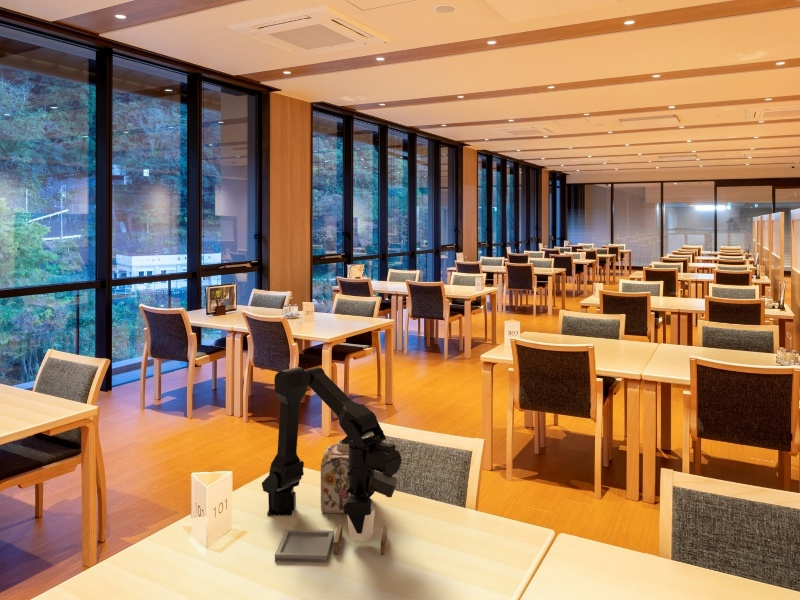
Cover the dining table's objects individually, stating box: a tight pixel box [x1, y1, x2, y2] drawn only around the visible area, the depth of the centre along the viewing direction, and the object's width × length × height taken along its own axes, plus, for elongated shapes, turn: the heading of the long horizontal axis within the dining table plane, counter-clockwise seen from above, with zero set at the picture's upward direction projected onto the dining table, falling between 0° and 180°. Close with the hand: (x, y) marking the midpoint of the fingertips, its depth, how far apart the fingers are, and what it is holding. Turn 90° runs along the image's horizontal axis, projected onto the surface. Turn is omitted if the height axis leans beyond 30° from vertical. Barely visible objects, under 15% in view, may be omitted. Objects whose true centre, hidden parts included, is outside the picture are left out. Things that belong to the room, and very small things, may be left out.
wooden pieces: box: [332, 523, 388, 556], centre depth 156 cm, size 12×9×3 cm
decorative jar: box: [320, 439, 351, 515], centre depth 177 cm, size 12×12×18 cm
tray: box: [274, 529, 335, 563], centre depth 154 cm, size 12×12×2 cm
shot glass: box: [346, 503, 376, 541], centre depth 155 cm, size 7×7×7 cm
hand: (360, 526), depth 155 cm, fingers closed on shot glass, 6 cm apart
